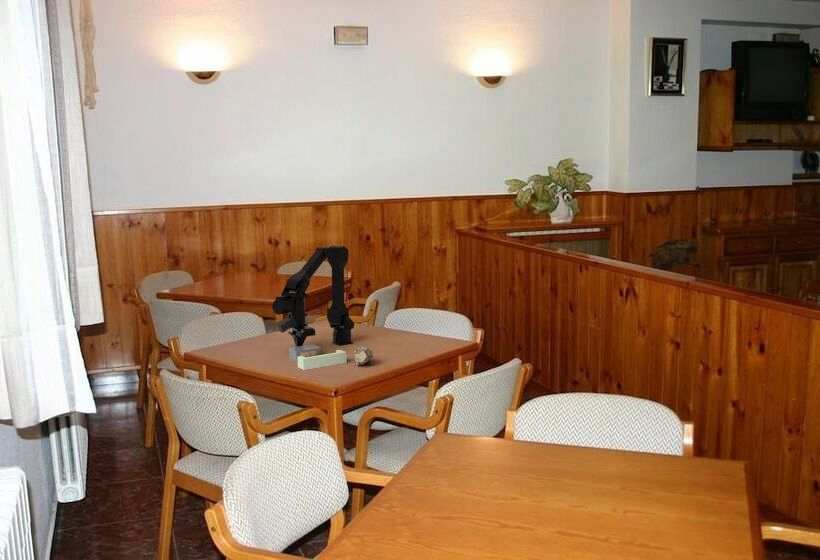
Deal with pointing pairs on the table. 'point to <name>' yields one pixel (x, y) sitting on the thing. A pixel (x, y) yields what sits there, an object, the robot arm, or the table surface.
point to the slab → (301, 350)
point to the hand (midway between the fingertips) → (298, 350)
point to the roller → (311, 353)
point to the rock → (363, 355)
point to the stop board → (322, 360)
